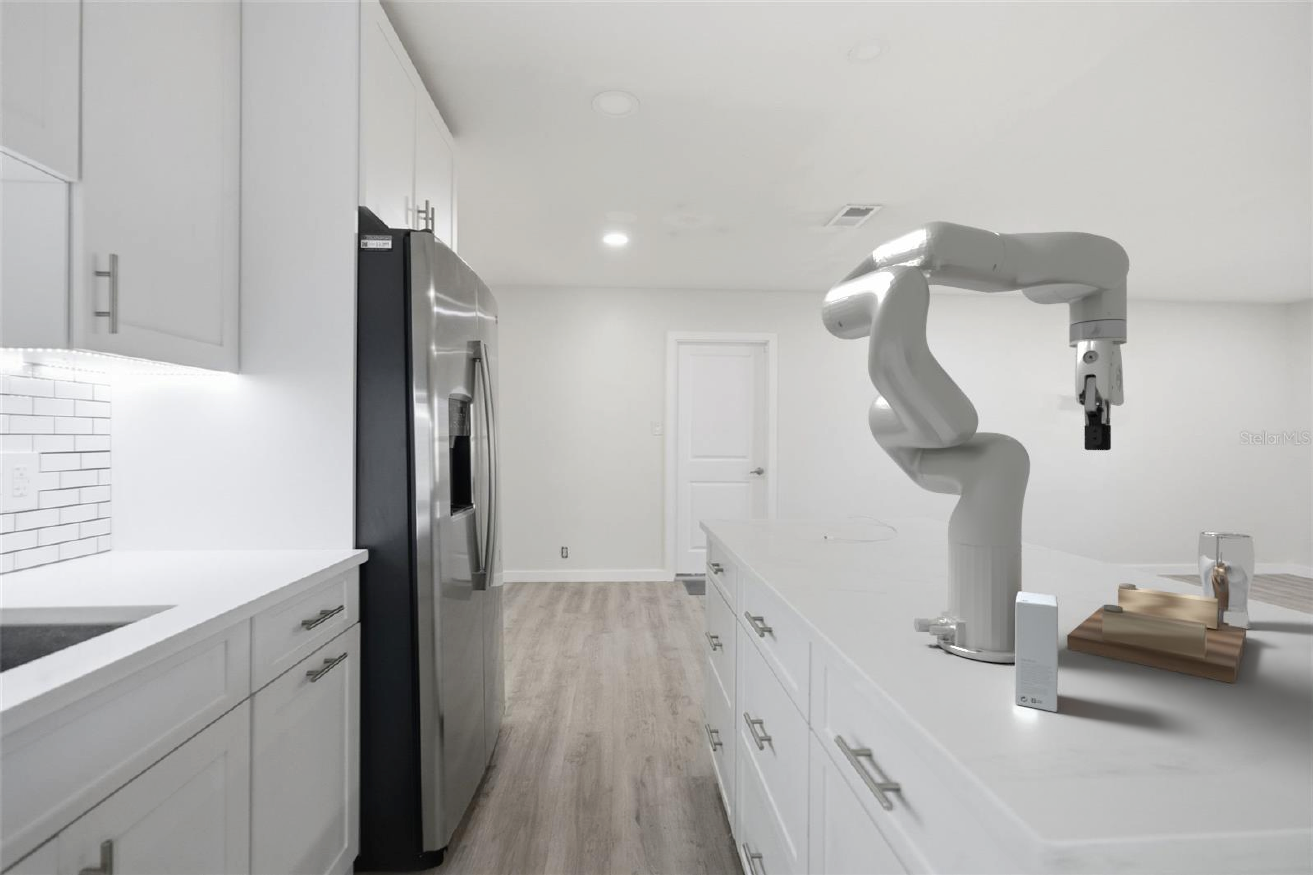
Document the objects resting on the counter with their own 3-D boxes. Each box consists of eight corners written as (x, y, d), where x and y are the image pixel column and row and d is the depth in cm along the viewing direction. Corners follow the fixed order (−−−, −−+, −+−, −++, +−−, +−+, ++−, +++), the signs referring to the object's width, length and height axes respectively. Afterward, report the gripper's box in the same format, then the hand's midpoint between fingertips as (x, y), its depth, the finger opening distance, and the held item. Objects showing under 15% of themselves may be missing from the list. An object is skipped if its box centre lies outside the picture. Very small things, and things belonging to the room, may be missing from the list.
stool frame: (1234, 683, 78) (1234, 630, 78) (1067, 648, 91) (1067, 603, 91) (1246, 641, 95) (1245, 597, 95) (1103, 617, 108) (1103, 578, 108)
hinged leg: (1117, 613, 102) (1117, 585, 102) (1120, 609, 104) (1120, 582, 104) (1216, 629, 93) (1216, 598, 93) (1217, 624, 95) (1217, 594, 95)
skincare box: (1058, 713, 69) (1058, 606, 69) (1014, 705, 72) (1014, 601, 72) (1057, 695, 74) (1057, 594, 74) (1016, 687, 77) (1016, 590, 77)
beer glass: (1265, 632, 99) (1265, 538, 100) (1215, 629, 101) (1215, 536, 101) (1235, 619, 106) (1235, 532, 106) (1188, 617, 108) (1188, 530, 108)
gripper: (1116, 326, 92) (1116, 450, 92) (1135, 338, 102) (1135, 450, 102) (1057, 332, 97) (1057, 450, 97) (1081, 343, 107) (1081, 449, 107)
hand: (1097, 449), depth 99 cm, fingers closed
